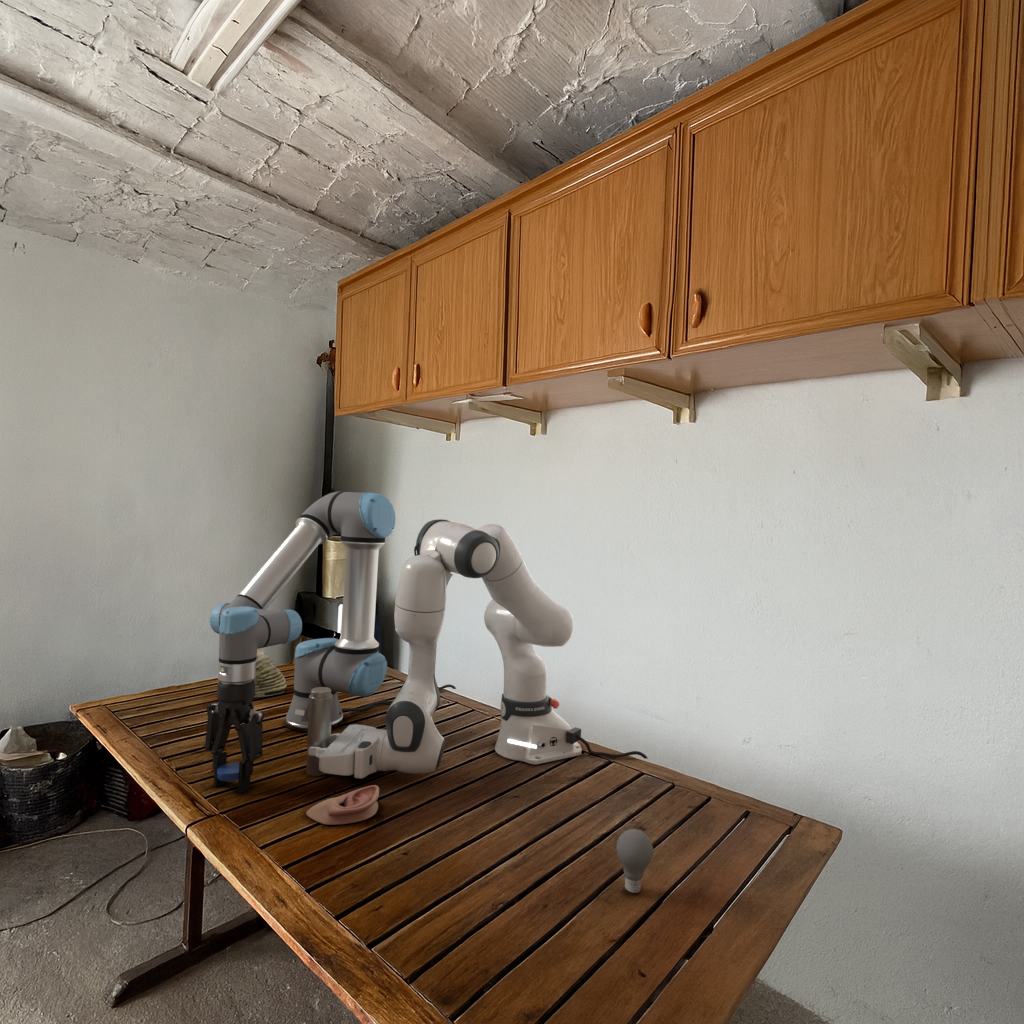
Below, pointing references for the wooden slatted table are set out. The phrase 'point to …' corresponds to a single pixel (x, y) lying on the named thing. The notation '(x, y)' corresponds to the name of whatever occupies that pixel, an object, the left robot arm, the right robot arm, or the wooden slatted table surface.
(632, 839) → the light bulb
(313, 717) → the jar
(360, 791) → the anatomical model
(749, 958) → the wooden slatted table surface
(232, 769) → the lid
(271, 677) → the fossil
